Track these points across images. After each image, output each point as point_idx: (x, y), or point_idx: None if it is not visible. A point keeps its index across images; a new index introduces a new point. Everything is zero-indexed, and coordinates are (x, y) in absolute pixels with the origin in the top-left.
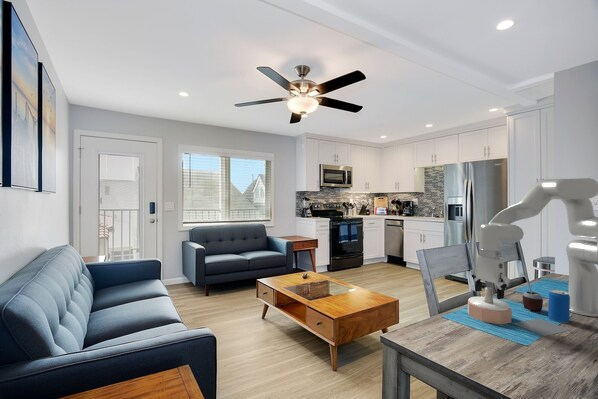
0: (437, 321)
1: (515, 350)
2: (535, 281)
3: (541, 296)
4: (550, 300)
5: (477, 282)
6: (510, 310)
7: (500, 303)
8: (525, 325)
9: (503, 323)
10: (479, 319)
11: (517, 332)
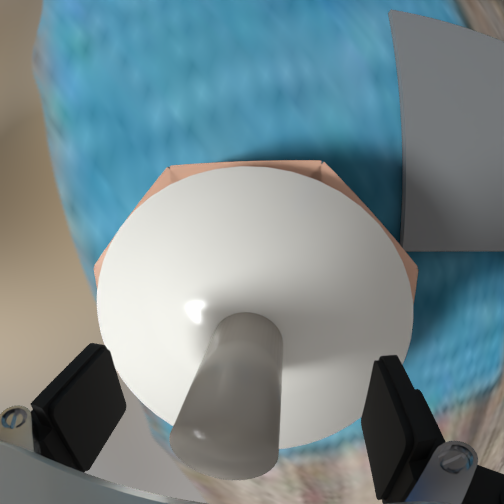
0: (225, 492)
1: (480, 432)
2: None
3: None
4: None
5: (73, 462)
6: (415, 282)
7: (309, 264)
8: (445, 207)
9: None
10: None
11: (451, 318)
